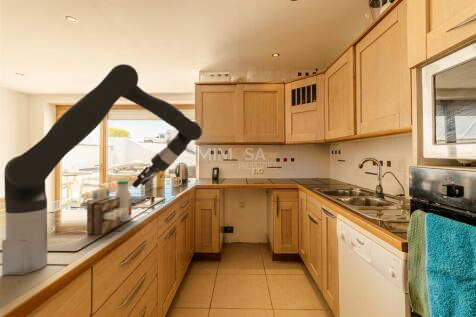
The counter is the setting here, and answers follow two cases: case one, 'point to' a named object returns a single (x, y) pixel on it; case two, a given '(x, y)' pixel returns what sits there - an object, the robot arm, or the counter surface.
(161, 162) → the robot arm
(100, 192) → the card
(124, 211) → the right button
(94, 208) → the brown wooden box
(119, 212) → the middle button
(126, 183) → the milk bottle
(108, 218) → the left button
